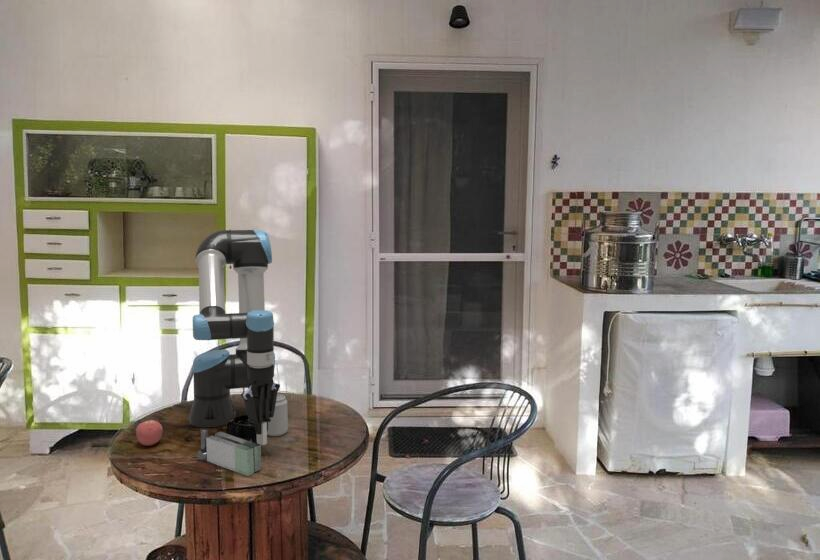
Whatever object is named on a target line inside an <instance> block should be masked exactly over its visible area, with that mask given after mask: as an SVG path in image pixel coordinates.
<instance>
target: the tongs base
mask: <svg viewBox="0 0 820 560" xmlns="http://www.w3.org/2000/svg"><path fill="white" fill-rule="evenodd" d="M196 454H197V461H200V462H208V463H211V464H213V465H215V466H216V465H217V466H218V467H221V468H224V469H227V470H230V471H233V472H235V473H236V474H240V475H242V476H246V477H249V476H251V475H253V474H255V472H254V456H253V448H251V447H248V446H245V445H242V444H240V445H239V444H236V443H233V442H230V441H227V440H224V439H221V438H218V437H215V435H210V436H209V435H208V428H202V429H200V449H199V450H198V451H197V452H196Z"/></svg>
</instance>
